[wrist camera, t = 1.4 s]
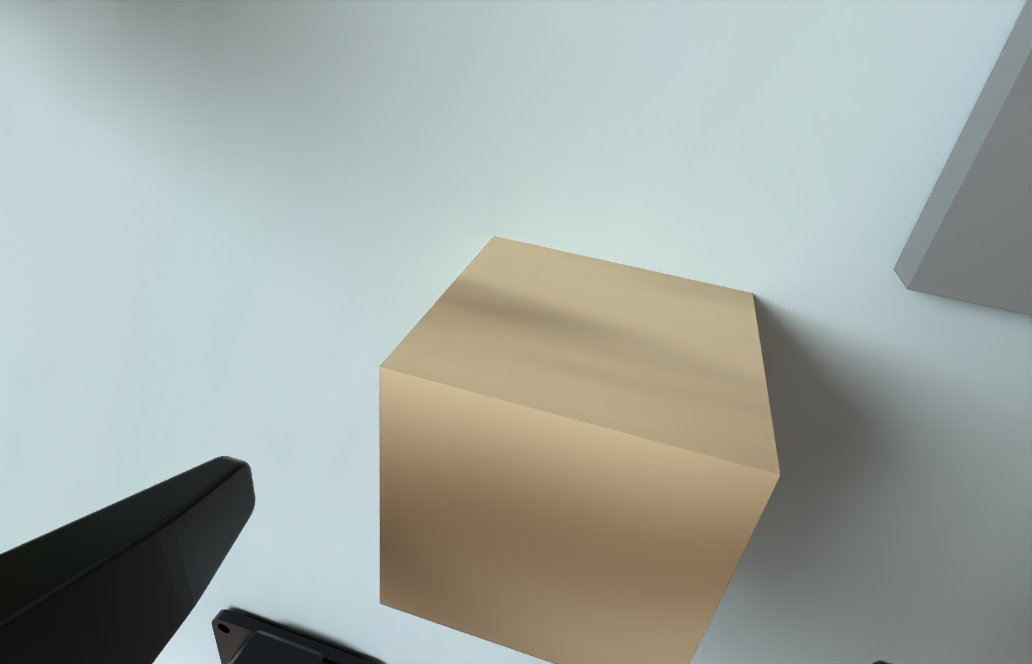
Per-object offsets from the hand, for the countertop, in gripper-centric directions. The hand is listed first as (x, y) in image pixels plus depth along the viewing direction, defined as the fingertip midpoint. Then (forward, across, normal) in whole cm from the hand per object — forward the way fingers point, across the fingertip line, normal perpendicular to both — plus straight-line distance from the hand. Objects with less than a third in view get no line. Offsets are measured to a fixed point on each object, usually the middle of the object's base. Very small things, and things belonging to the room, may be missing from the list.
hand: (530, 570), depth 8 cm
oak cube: (+5, 0, 0) cm, 5 cm away
